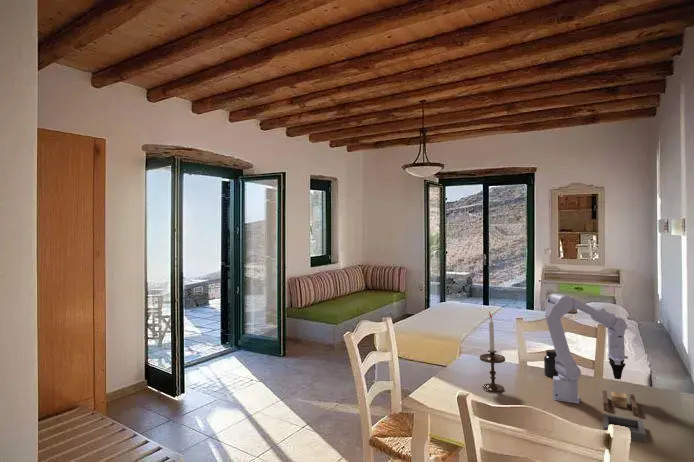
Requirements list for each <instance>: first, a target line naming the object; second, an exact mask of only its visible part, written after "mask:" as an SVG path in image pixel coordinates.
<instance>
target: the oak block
mask: <svg viewBox="0 0 694 462" xmlns="http://www.w3.org/2000/svg"><path fill="white" fill-rule="evenodd" d="M610 396H611V399H610V400H611V406H612V407H619V408H628V401H627V399H628V398H627V393H623V392H617V391H611V395H610Z"/></svg>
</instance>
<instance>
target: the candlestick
mask: <svg viewBox="0 0 694 462" xmlns="http://www.w3.org/2000/svg"><path fill="white" fill-rule="evenodd" d="M488 314H489V317H490V320H489V322H488V328H489V329H488V331H489V332H488V333H489V350H487V352H488V353H484V354H483V353H482V354H480V355H479V360H480V361H482V362H483V363H489V364H490V371H489V375H490V376H489V378H490V379H491V383H490V382H489V383H485V384H483V385H484V386H485V385H486V386H487V385H489V387H488V388H487V387H486V386H485V387H484V386H483V385H482V389H483V388H484V389H486V390H488V391H490V392H489V393H491V392H500V393H502V392H501V391H503V390H505V387H504V386H503V385H501V384H497V383H495V382H496V381H495V380H496V379H497V378H496V377H495V376H496V375H497V371H495V364H500V363H501V364H502V363H504V362H506V357H505V356H504V355H501V354H497V353H498V352H497V350H495V329H494V327H495V325H494V321H493V319H492V318H493V316H492V314H491V312H490V311H489V313H488ZM484 389H483V390H484ZM503 392H504V391H503Z"/></svg>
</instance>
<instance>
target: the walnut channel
mask: <svg viewBox="0 0 694 462" xmlns="http://www.w3.org/2000/svg"><path fill="white" fill-rule="evenodd" d="M629 403H630V407H631V408H630V409H631V413H632V416H637V417H638V416H639V415H638V414H639V407H638V404H637V401H636V397H635V394H631V393H630V394H629ZM602 405H603V411H607V412H609V399H608V390H602Z"/></svg>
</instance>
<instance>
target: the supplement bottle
mask: <svg viewBox="0 0 694 462" xmlns="http://www.w3.org/2000/svg"><path fill="white" fill-rule="evenodd" d="M556 356H557V355H556V351H555V349H546V351H545V356H543V361H544V362H543V363H544V364H543V370H544V376H546V377H547V378H548V377H549V378H553V376H558V372H557V371H556V369H555V357H556Z"/></svg>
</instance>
